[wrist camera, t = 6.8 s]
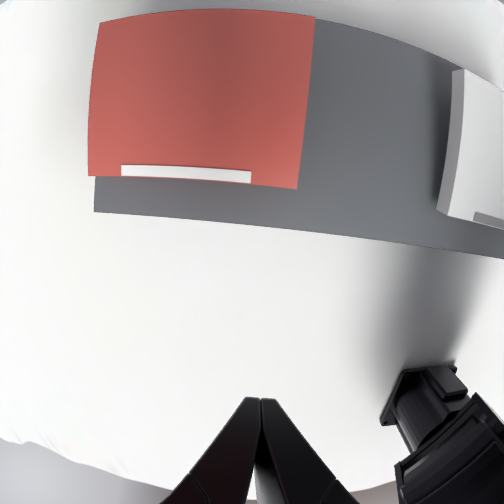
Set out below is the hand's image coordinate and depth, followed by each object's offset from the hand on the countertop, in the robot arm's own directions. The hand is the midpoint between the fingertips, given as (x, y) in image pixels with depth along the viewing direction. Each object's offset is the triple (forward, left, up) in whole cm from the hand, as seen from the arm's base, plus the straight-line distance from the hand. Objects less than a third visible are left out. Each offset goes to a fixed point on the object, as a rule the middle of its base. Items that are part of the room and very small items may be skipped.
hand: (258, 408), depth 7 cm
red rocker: (+10, +4, -6) cm, 12 cm away
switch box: (+10, -5, -12) cm, 16 cm away
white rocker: (+10, -14, -6) cm, 18 cm away
